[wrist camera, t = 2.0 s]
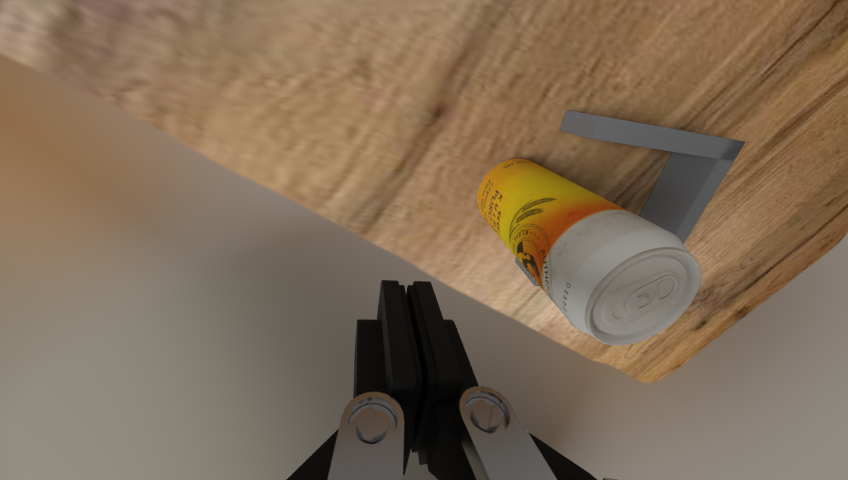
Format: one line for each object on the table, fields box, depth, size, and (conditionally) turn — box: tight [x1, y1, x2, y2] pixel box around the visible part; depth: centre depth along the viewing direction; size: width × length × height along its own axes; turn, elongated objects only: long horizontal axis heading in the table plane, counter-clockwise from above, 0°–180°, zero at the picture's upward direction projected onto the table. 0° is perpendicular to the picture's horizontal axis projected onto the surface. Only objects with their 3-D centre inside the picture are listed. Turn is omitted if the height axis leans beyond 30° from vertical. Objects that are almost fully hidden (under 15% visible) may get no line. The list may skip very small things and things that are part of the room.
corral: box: [515, 110, 745, 286], centre depth 27 cm, size 13×14×4 cm
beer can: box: [477, 158, 701, 345], centre depth 20 cm, size 6×6×15 cm
